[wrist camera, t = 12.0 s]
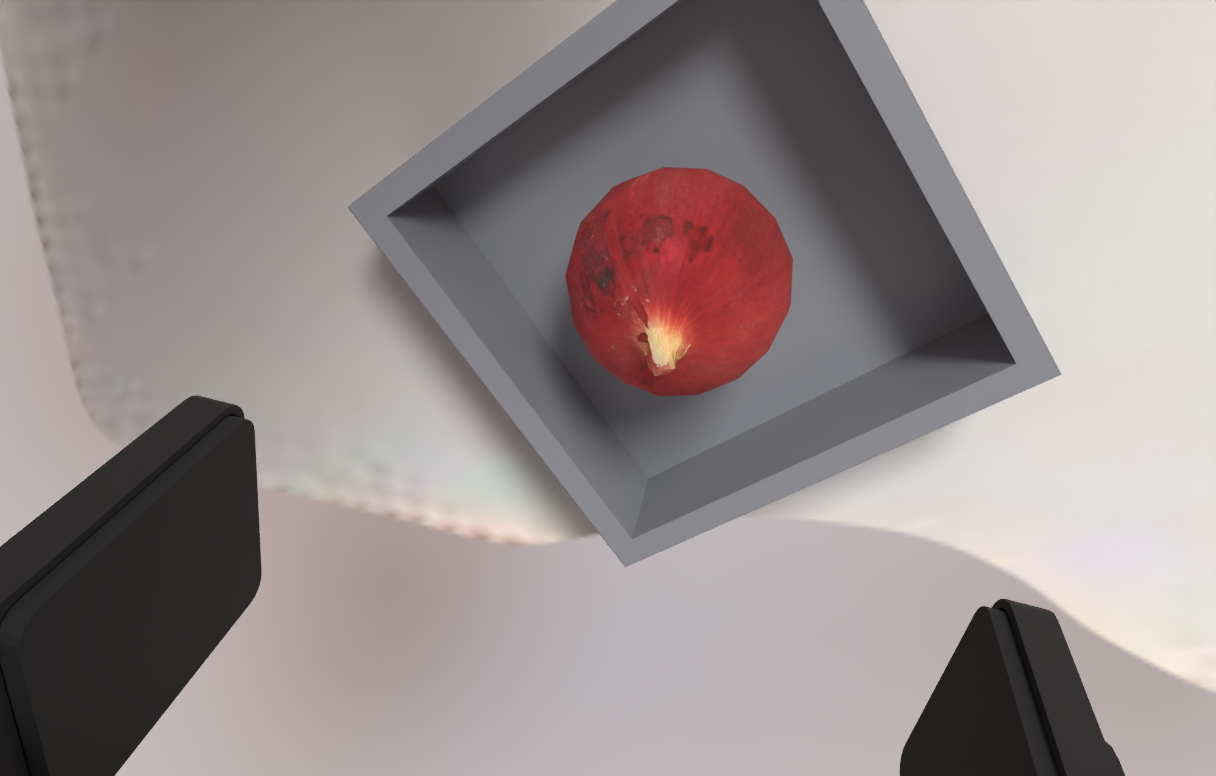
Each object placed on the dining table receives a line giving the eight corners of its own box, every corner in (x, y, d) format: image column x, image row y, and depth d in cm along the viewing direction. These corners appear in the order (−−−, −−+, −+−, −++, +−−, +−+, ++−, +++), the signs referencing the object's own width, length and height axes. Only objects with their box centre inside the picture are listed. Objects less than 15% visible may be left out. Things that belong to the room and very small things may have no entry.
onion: (559, 243, 26) (475, 346, 19) (686, 97, 24) (642, 156, 17) (697, 365, 27) (665, 506, 20) (833, 238, 25) (851, 349, 18)
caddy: (411, 170, 27) (347, 207, 23) (791, -118, 22) (792, -134, 18) (646, 489, 31) (625, 567, 27) (1019, 310, 26) (1061, 374, 22)
